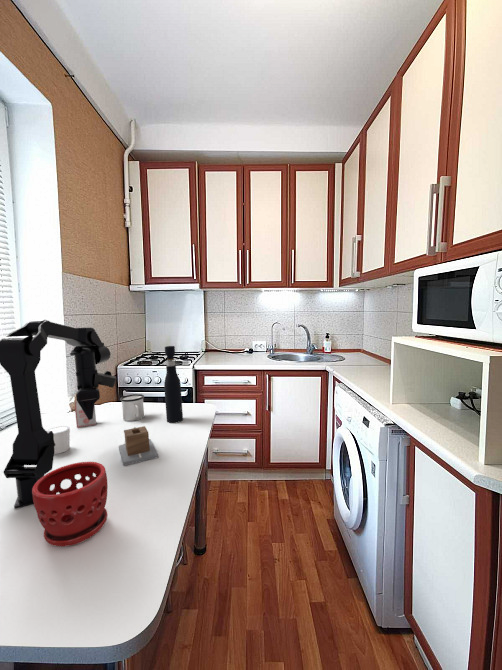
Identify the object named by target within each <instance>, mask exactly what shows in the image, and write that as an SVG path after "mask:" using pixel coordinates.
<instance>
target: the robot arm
mask: <svg viewBox="0 0 502 670" xmlns="http://www.w3.org/2000/svg"><path fill="white" fill-rule="evenodd" d="M48 338H49V339H55V340H60V341H64V342H66V344H67V345H68V346H69V345H70V346H73V347H74V348H73V349H72V350H71V351H70V353H69V356H74V363H75V364H74V365H75V377H76V389H77V391H76V393H75V398H76V402H78V403H79V405H80V407H81V408H82V410H83V411H84V413H85V415H86V416H87V418H88V420H91V419H93V411H94V405H95V403H96V402H97V401H99V400H100V398H101V394H100V389H99V387H100V386H104V387H108V388H114V387H115V384H116V381H117V376H115V375H112V371H110V370H105V372H103V373H101V372H98V369H97V365H99V364H102V363H105V362H107V361H109V359H110V358H111V355H112V354H111V351H110V349H109V348H108V347H107V346H106V345H105V343H104V342H102V340H101V338H100V336H99V334H98V333H97V331H96V330H95V328H94V327H72V326H68V325H64V324H59V323H56V322H53V321H50V320H47V319H34V320H33V319H32V320H29V321H28V322H26V323H25V324H24V325H23V326H21V327H20V328H17V329H15V330H14V331H12V332H10V333H9V334H7V336H5V337H2V338H1V339H0V367H2V368H3V369H4V371H5V372H7V374H8V375H9V378H10V385H11V392H12V398H13V405H14V412H15V417H16V423H17V431H18V433H17V435H16V437H15V439H14V441H13V442H12V454H11V456H10V458H9V459H8V462H7V464H6V466H5V468H4V470H3V472H2V473H3V475H4V476H5V479H11V478H12V479H15V484H16V486H15V487H16V493H17V494H16V495H17V497H16V500H15V503H14V504H13V507H14V509H17V508H21V507H24V506H29V505H32V504H33V505H34V502H33V495H32V488H33V486H34V484H35V483H36V482H37V481H38V480H39V479H40V478H42V477H43V476H44V475H46V474H48V473H50V472H51V471H53V465H54V458H55V454H54V446H56V445H55V443H54V434H53V432H52V431H48V430H46V429H45V428H44V426H43V422H42V421H43V420H42V413H41V408H40V407H41V405H40V400H39V392H38V386H37V385H38V384H37V378H36V369H37V368H38V365H39V363H40V362H41V351H42V350H43V349H44V348H45V347H46V345H48ZM43 494H44V493H43Z"/></svg>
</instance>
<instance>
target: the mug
mask: <svg viewBox="0 0 502 670" xmlns="http://www.w3.org/2000/svg"><path fill="white" fill-rule="evenodd" d="M144 398H145V395H144V394H142V393H135V394H133V393H132V394H128V395H127V394H126V395H124V396H121V397H120V400H119V401H121V409H122V419H123V421H126V422H135V421H134V420H136V421H138V419H139V420H142V419H143V418H144V417H145V410H144V409H145V407H144ZM141 418H142V419H141Z"/></svg>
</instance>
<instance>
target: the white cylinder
mask: <svg viewBox="0 0 502 670" xmlns="http://www.w3.org/2000/svg"><path fill="white" fill-rule="evenodd" d="M47 431H52V432H53V434H54V443H55V445H56V446H54V455H56V454H62V453H65V452H67V451H68V450H70V445H71V444H70V441H71V439H70V436H71V435H70V433H71V429H70V426H67V425H66V426H65V425H63V426H62V425H61V426H56V427H52V428H50V429H48V430H47Z"/></svg>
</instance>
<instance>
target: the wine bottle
mask: <svg viewBox="0 0 502 670" xmlns="http://www.w3.org/2000/svg"><path fill="white" fill-rule="evenodd" d="M175 348H176V347H175V345H167V346H164V356H166V360H167V361H166V368H165V369H166V373H165V378H164V382H163V383H164V386H163V387H164V389H163V390H164V400H165V401H164V402H165V413H166V414H165V415H166V422H167V423H168V422H169V423H170V424H176V422H177V423H180V422H182V421H183V420H184V417H183V416H184V414H183V400H182V387H181V381H180V378H179V375H178V372H177V365H176V361H175V359H174V358H175V357H174V356H175V355H176V349H175Z"/></svg>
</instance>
